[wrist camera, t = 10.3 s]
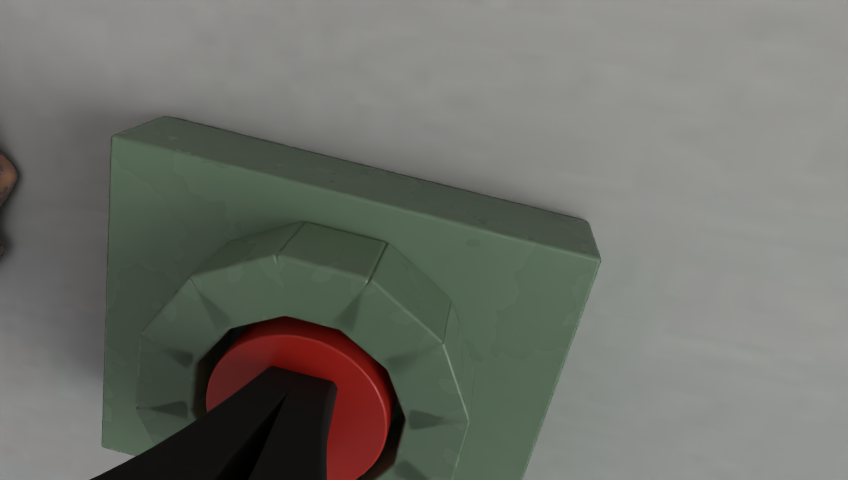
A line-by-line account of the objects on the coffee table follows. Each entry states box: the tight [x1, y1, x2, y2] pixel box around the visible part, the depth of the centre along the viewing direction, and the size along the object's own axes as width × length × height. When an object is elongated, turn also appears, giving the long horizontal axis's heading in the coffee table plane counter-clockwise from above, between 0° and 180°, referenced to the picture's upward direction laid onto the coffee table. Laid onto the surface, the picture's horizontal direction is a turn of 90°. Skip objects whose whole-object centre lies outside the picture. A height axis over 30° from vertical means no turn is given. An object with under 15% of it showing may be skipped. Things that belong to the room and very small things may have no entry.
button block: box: [102, 116, 601, 480], centre depth 14 cm, size 10×8×4 cm
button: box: [206, 316, 397, 480], centre depth 13 cm, size 4×4×2 cm
